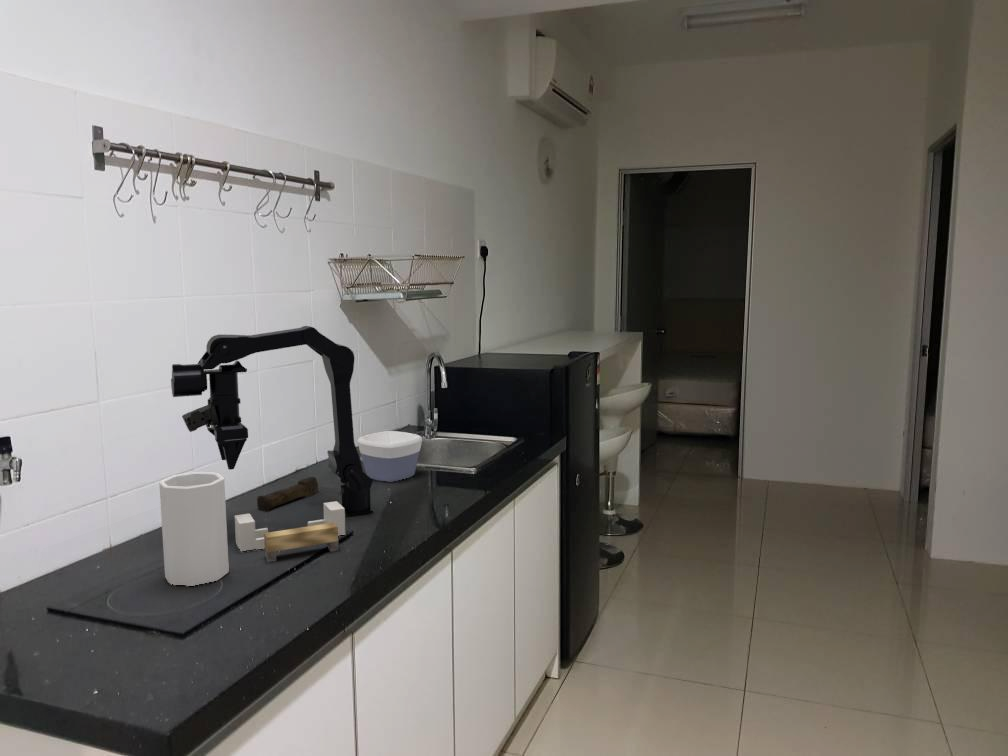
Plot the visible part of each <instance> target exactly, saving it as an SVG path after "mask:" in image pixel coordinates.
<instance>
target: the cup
mask: <svg viewBox="0 0 1008 756" xmlns="http://www.w3.org/2000/svg"><path fill="white" fill-rule="evenodd" d="M225 487H226V485H225V478H224V477H223V476H222V475H220V474H219V473H218V472H211V471H210V472H209V471H208V472H206V471H194V472H193V471H192V472H186V473H185V472H184V473H179V474H173V475H170V476H169V477H166V478H165V479H162V480H160V481H159V497H160V498H159V499H160V502H159V503H160V515H161V516H160V517H161V531H162V548H163V563H164V564H163V566H164V577H165V579H166V580H167V583H168V584H169V583H170V584H169V585H170V586H176V585H186V586H185V587H189V586H194V587H196V586H195V585H198V586H200V585H199V584H203V585H206V584H205V583H207V584H210V583H209V582H212V583H215V582H214V581H216V582H218V581H219V580H220V579H222V578H223V577H224V576H225V575H227V574H228V573H229V572H230V571H229V570H230V569H229V550H228V549H229V548H228V546H229V545H228V529H227V527H228V526H227V523H228V522H227V510H226V509H227V505H226V488H225ZM172 584H173V585H172Z"/></svg>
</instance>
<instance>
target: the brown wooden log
mask: <svg viewBox="0 0 1008 756" xmlns="http://www.w3.org/2000/svg"><path fill="white" fill-rule="evenodd" d="M318 491H319V483H318V480H317V478H316V477H315V476H309V477H307V478H302V479H299V480H298V482H297V483H296V484H294V485H291V486H289V487H286V488H284V489H280V490H277V491H274V492H271V493H268V494H265V495H258V496H257V499H256V502H257V503H256V506H257V507H256V508H257V509H258V510H260V511H262V512H268V511H269V510H273V509H274V508H276V507H278V506H280V505H283V504H286V503H288V502H289V503H290V502H292V501H295V500H297V499H299V498H305V499H306V498H308V497H309V498H310V497H311V496H313V495H315V494H316V493H318Z"/></svg>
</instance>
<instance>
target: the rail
mask: <svg viewBox="0 0 1008 756" xmlns="http://www.w3.org/2000/svg"><path fill="white" fill-rule="evenodd" d="M307 526H308V525H307ZM307 526H301V527H296V528H290V529H289V528H288V529H284V530H283V529H281V530H276V531H268V532H269V533H264V544H265V549H264V558H265V557H266V558H265V559H267V560H268V561H271V560H276V561H277V552H279V551H286V550H291V549H297V548H304V547H310V546H316V545H317V546H318V545H321V544H322V545H323V544H326V548H327V547H328V548H327V550H329V552H332V553H333V552H337V551H339V549H340V548H339V537H338V526H337V525H336V524H335V523H327V524H321V525H314V526H308V527H307ZM267 560H266V561H267ZM268 561H267V562H268Z"/></svg>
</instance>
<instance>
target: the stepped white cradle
mask: <svg viewBox="0 0 1008 756" xmlns="http://www.w3.org/2000/svg"><path fill="white" fill-rule="evenodd" d="M327 523H335V524H336V525H337V526H338V536H339V535H345V536H346V515H345V508H344V507H342V506H341V505H340V504H339V501H329V502H323V519H316V520H309V521H307V526H306V527H308V526H314V525H321V524H327ZM234 530H235V531H234V532H235V544H236V546H237V548H238V550H239V549H240V550H239V552H240V551H241V552H240V553H243V552H242V551H246V550H253V549H256V550H257V549H263V550H265V549H264V548H265V544H264V533H269V532H270V531H269V529H268V527H263V528H257V529H256V521H255V519H254V518H253V516H252V515H251V514H250V513H244V514H237V515H234ZM339 537H340V536H339ZM256 550H255V551H256ZM253 551H254V550H253ZM257 551H258V550H257Z"/></svg>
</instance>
